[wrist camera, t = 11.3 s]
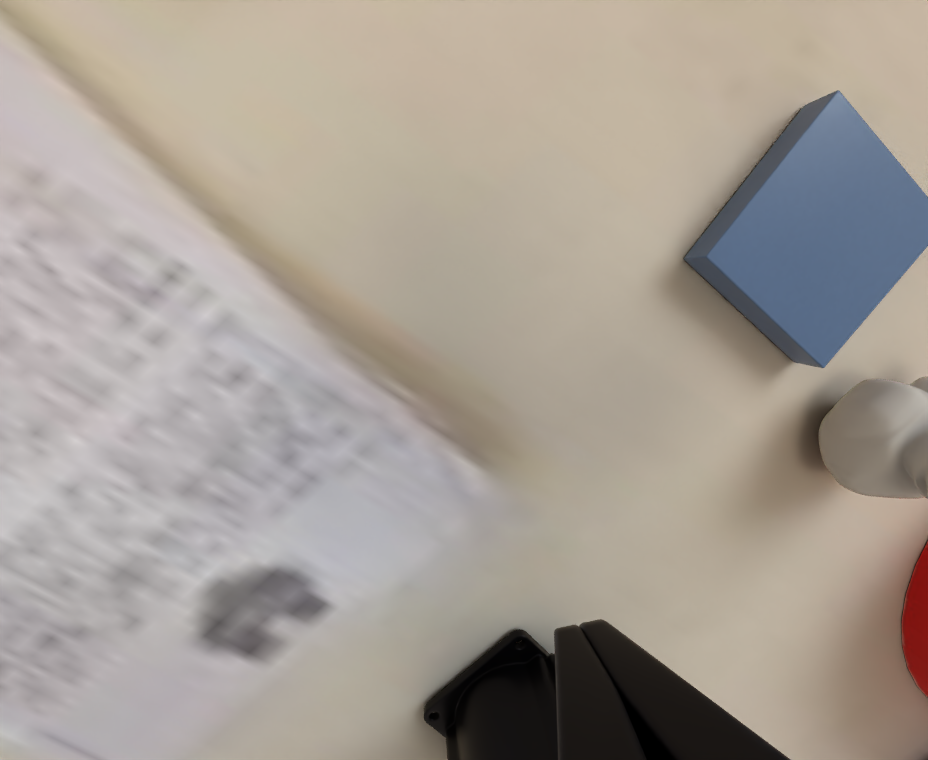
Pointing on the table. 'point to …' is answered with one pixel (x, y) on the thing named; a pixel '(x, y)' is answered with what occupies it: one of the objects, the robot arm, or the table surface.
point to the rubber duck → (879, 439)
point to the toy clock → (917, 624)
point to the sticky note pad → (816, 233)
